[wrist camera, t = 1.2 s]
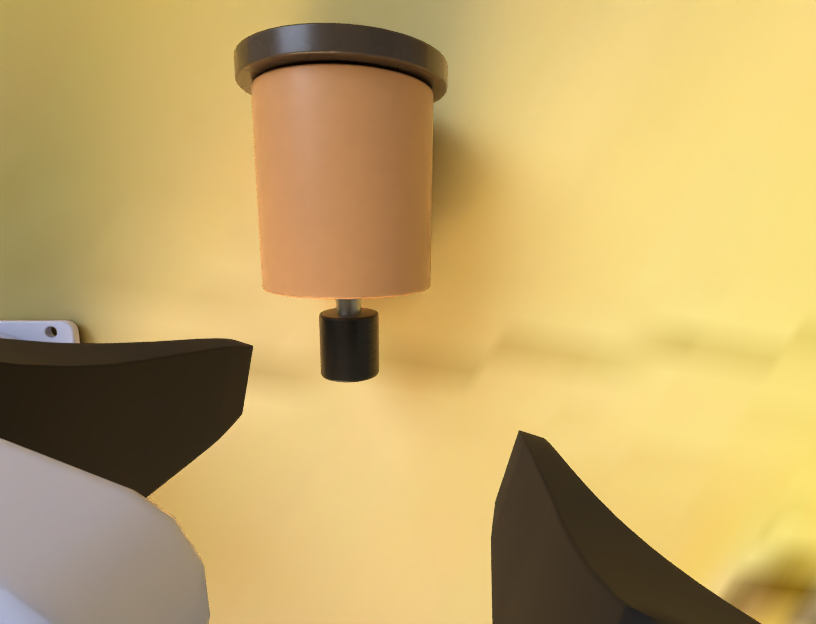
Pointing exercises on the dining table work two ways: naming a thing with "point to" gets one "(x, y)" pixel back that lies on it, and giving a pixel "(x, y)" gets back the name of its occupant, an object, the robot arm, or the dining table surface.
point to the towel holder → (343, 172)
